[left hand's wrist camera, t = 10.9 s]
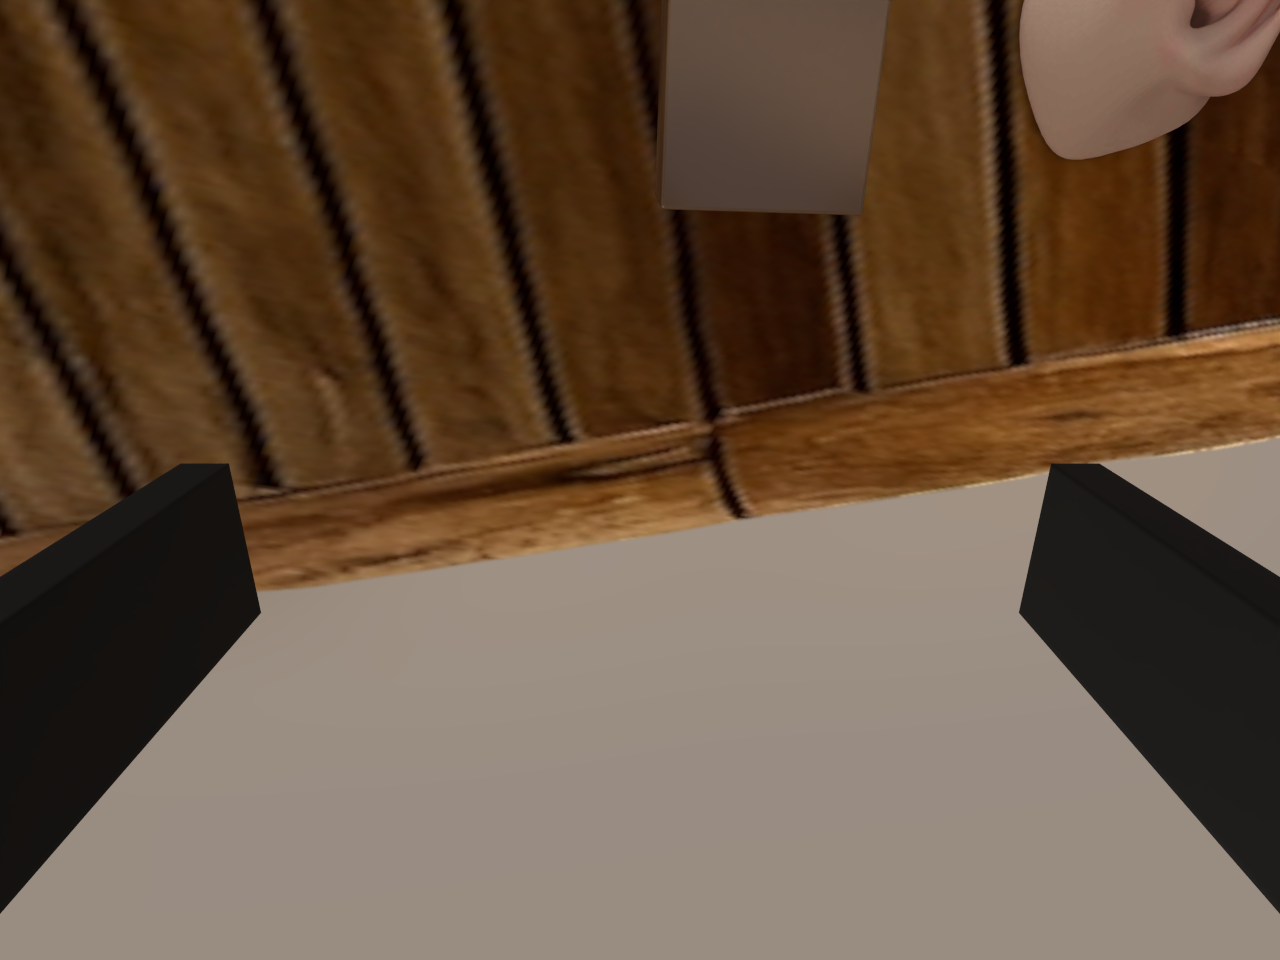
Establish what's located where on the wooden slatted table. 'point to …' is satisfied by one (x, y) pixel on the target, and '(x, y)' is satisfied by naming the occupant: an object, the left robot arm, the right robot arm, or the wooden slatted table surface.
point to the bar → (768, 104)
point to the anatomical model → (1135, 65)
